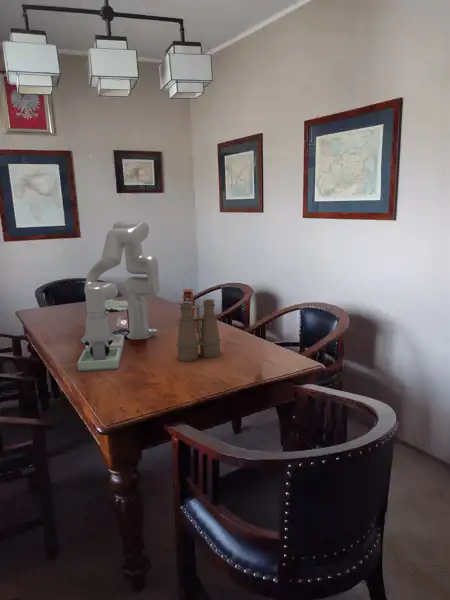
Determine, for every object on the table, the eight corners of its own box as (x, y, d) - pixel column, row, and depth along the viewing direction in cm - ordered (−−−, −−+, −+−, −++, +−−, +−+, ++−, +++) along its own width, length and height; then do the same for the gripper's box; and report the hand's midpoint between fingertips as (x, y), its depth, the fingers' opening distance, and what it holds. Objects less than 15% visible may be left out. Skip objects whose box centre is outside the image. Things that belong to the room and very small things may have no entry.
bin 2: (121, 356, 200) (120, 347, 199) (117, 368, 185) (117, 359, 184) (84, 358, 198) (83, 350, 197) (78, 371, 182) (77, 362, 182)
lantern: (177, 327, 244) (175, 273, 238) (185, 322, 254) (184, 271, 247) (193, 328, 241) (191, 274, 234) (201, 324, 250) (199, 271, 244)
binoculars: (180, 362, 191) (178, 306, 185) (173, 355, 200) (171, 301, 194) (224, 355, 199) (223, 301, 193) (216, 348, 208) (214, 296, 202)
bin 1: (124, 342, 219) (123, 334, 219) (121, 353, 204) (121, 344, 203) (91, 344, 217) (90, 336, 216) (86, 355, 202) (85, 347, 201)
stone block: (107, 356, 194) (105, 340, 192) (105, 360, 189) (104, 344, 187) (95, 356, 193) (93, 341, 191) (93, 360, 188) (92, 345, 187)
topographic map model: (139, 300, 317) (139, 293, 316) (149, 309, 290) (149, 301, 289) (88, 305, 303) (87, 298, 302) (94, 315, 277) (93, 307, 276)
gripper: (118, 311, 191) (121, 351, 195) (77, 313, 189) (81, 353, 193) (116, 315, 184) (119, 357, 188) (74, 318, 182) (78, 359, 186)
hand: (100, 354), depth 190 cm, fingers open, 5 cm apart
